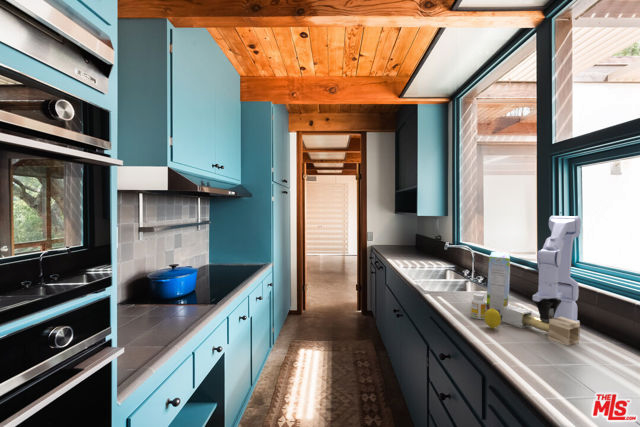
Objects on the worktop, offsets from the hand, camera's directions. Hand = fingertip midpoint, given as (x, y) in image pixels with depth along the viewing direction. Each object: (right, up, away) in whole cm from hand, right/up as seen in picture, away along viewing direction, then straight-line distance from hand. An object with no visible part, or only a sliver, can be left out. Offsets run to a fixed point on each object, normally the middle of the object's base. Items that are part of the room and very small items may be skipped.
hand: (546, 318), depth 115 cm
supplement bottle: (-17, -6, +17) cm, 25 cm away
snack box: (-2, -6, +28) cm, 29 cm away
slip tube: (-1, -5, +2) cm, 5 cm away
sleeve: (-5, -6, +10) cm, 13 cm away
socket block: (+2, -6, -5) cm, 8 cm away
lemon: (-18, -6, +4) cm, 19 cm away
